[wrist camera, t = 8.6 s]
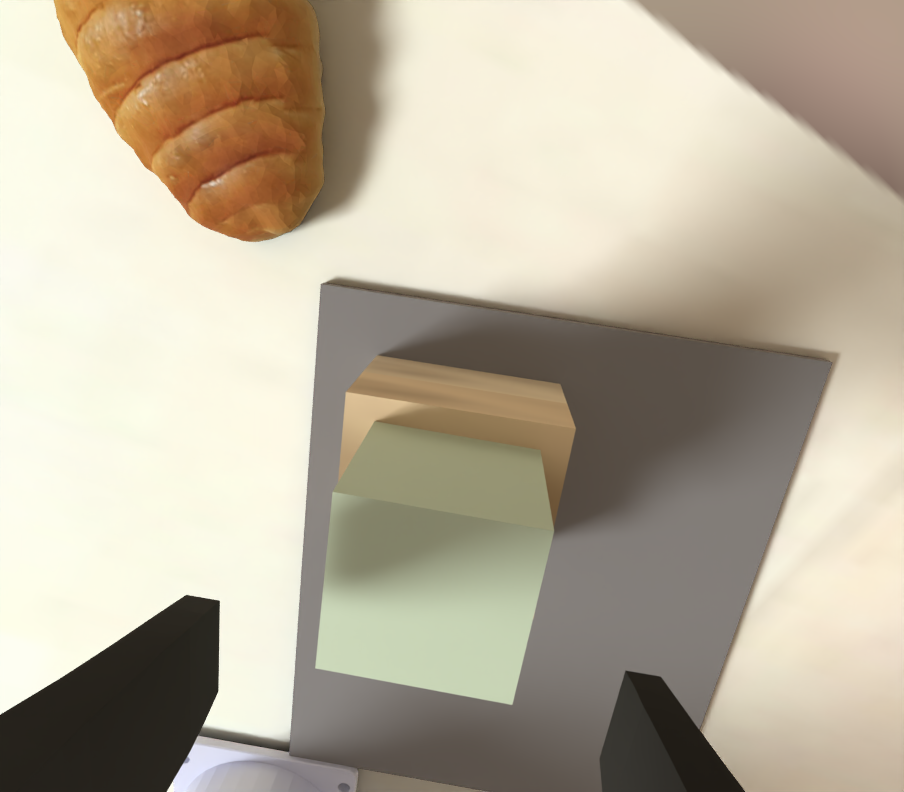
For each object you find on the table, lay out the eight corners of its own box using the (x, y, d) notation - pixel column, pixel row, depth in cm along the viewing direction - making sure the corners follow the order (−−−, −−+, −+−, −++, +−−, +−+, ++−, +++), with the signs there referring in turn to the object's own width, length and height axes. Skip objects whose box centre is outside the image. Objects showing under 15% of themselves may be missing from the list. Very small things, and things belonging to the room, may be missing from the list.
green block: (509, 590, 16) (512, 704, 13) (357, 562, 16) (315, 667, 13) (540, 450, 15) (554, 531, 11) (374, 421, 15) (332, 491, 11)
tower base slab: (526, 543, 20) (529, 578, 19) (360, 516, 21) (346, 547, 19) (560, 383, 19) (567, 403, 17) (376, 355, 19) (363, 371, 17)
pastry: (386, 202, 18) (357, 200, 14) (196, 267, 19) (124, 280, 15) (271, -152, 15) (199, -264, 12) (60, -53, 16) (-65, -127, 13)
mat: (663, 813, 24) (665, 823, 24) (292, 747, 25) (289, 755, 24) (825, 359, 18) (832, 362, 18) (324, 282, 19) (320, 284, 18)
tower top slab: (529, 578, 19) (533, 620, 17) (346, 547, 19) (329, 585, 17) (567, 403, 17) (576, 428, 15) (363, 371, 17) (345, 392, 15)
